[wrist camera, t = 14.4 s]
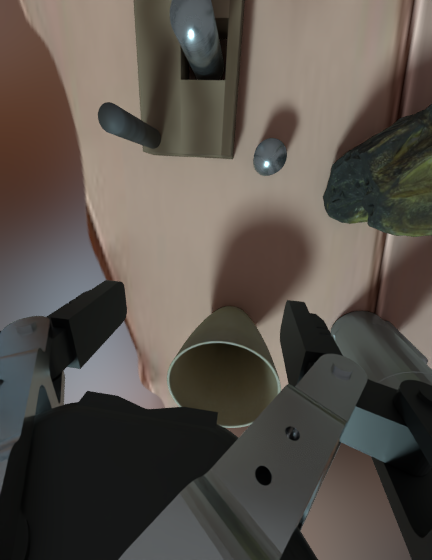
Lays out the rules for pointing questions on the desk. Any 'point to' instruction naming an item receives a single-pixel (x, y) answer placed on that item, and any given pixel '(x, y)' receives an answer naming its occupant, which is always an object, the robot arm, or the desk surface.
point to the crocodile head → (387, 179)
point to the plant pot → (225, 369)
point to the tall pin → (198, 37)
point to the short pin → (269, 157)
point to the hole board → (180, 88)
